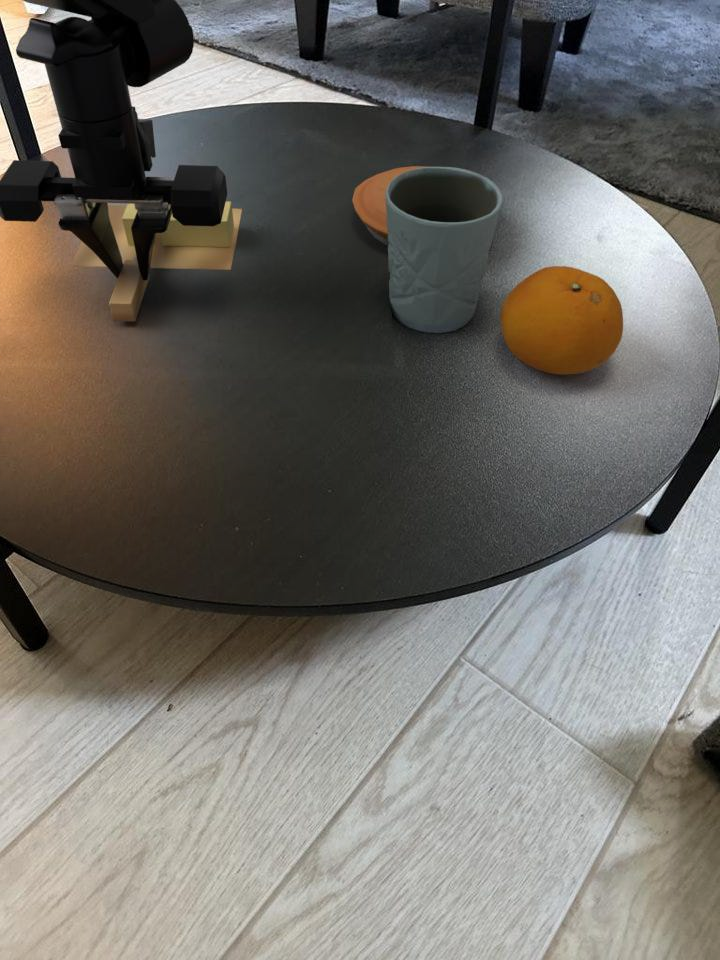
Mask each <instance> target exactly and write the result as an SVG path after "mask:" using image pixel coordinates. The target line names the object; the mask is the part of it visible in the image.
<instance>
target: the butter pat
mask: <svg viewBox="0 0 720 960" xmlns="http://www.w3.org/2000/svg"><path fill="white" fill-rule="evenodd" d="M126 204H127V203H126ZM126 206H127V207H126V210H125V212H124V215H123V217H122V221H123V226H124V230H125V234H126V239H127V243H128V245H134V241H133V236H132V231H131V227H132V224H133V221H134V219H135V216H136V213H137V210H136V209H135V205H134V204H127V205H126Z"/></svg>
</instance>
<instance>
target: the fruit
mask: <svg viewBox="0 0 720 960" xmlns="http://www.w3.org/2000/svg"><path fill="white" fill-rule="evenodd" d="M623 313H624V312H623V307H622V303H621V301H620V300H619V298H618V295H617V293H616V292H615V291H614V289H613V287H611V286H610V284H608V282H606V281H605V280H604V278H602V277H600V276H597V275H596V274H594V273H590V272H588V271H584V270H582V269H579V268H576V267H573V266H566V265H559V266H558V265H554V266H547V267H543V268H541V269H539V270H536V271H535V272H533V273H532V274H530V275H529V276H526V278H524V279H523V280H522V281H521V282H519V283H517V285H516V286H515V287H514V288H513V289H512V290H511V291H510V292H509V294H508V295H507V296H506V298H505V300H504V302H503V304H502V307H501V312H500V327H501V332H502V336H503V340H504V342H505V344H506V346H507V347H508V349H509V351H510V352H511V353H512V354H513V355H514V356H515V357H516V359H518V360H519V361H521V362H523V363H524V364H526V365H527V366H529V367H532V368H533V369H536V370H538V371H541V372H543V373H544V372H545V373H549V374H552V375H560V376H561V375H563V376H564V375H577V374H578V375H579V374H582V373H586V372H588V371H592V370H593V369H596V368H598V367H599V366H602V364H604V362H607V360H609V359H610V358H611V357H612V356H613V355H614V353H615V352H616V350H617V348H618V347H619V344H620V342H621V340H622V338H623V332H624V315H623Z"/></svg>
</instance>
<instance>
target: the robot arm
mask: <svg viewBox="0 0 720 960" xmlns="http://www.w3.org/2000/svg"><path fill="white" fill-rule="evenodd" d="M22 1H23V2H25V3H28V4H32V5H36V6H40V7H45V8H49V9H54V10H59V11H63V12H67V13H71V14H75V15H79V16H83V17H89V18H90V19H89V20H87V19H85V18H83V17H79V16H69V17H65V18H63V19H61V20H59V21H56V22H52V21H49V20H44V19H40V18H35V17H31V18H30V19H29V21H28V26H27V29H26V31H25V33H24V34H23V35H22V36H21V37H20V39H19V41H18V43H17V46H16V48H15V52H16V56H18V58H20V59H23V60H28V61H31V62H35V63H40V64H43V65H44V67H45V71H46V74H47V78H48V82H49V85H50V89H51V94H52V97H53V101H54V104H55V107H56V108H55V109H56V111H57V115H58V119H59V123H60V126H61V130H60V131H59V133H58V135H57V136H58V140H59V143H60V147H61V149H67V153H68V157H69V161H70V164H71V167H72V171H73V175H74V177H66V176H65V177H62V175H61V170H60V168H59V165H57V164H56V163H55V162H54V161H53V160H26V159H25V160H23V159H22V160H21V159H20V160H18V159H13V160H12V162H11V163H10V165H9V166H8V167H7V169H6V171H5V172H4V173H3V174H2V177H1V178H0V218H1V219H2V220H3V221H5V222H27V223H28V222H33V223H36V222H37V221H38V220H39V218H40V217H41V216H42V214H43V213H44V212H45V208H44V205H43V202H53V203H54V206H57V210H58V213H59V217H60V218H59V221H58V227H59V229H60V230H62V231H64V232H65V231H67V232H71V233H72V234H73V235H74V236H75V237H76V238H78V239H79V240H80V241H81V242H83V243H84V244H85V245H87V246H88V247H89V248H90V249H91V250H92V251H93V252H94V253H95V254H96V255H97V256H98V257H99V258H100V260H101V261H102V262H103V263H104V264H105V265H106V266H107V267H106V268H107V269H108V270H109V272H111V273H112V274H113V275H114V277H115V278H116V279H117V280H118V277H119V274H120V272H121V269H122V267H123V261H122V257H121V254H120V251H119V247H118V244H117V241H116V238H115V235H114V232H113V228H112V225H111V222H110V219H109V212H108V205H109V204H134V205H135V209H136V210H137V213H136V216H135V219H134V221H133V224H132V227H131V231H132V236H133V241H134V246H135V252H136V257H137V262H138V267H139V271H140V274H141V276H142V278H143V280H148V276H149V277H150V270H151V268H150V265H151V259H152V252H153V246H154V239H155V234H156V233H163V232H165V231H166V230H167V228H168V225H169V222H170V219H171V215H173V218H175V219H176V220H177V221H178V222H180V223H181V224H182V225H183V226H216V225H218V224H220V223H221V220H222V216H223V211H224V207H225V202H226V201H227V199H228V187H227V178H226V175H225V173H224V172H223V171H222V169H221V168H220V167H219V166H218V165H200V164H199V165H198V164H197V165H195V164H194V165H193V164H178V166H177V170H176V173H175V176H174V179H173V180H172V179H171V177H168V176H146V172H151V170H152V168H153V160H152V159H153V158H154V159H155V158H156V157H157V156H156V155H157V154H156V143H155V133H154V125H153V119H148V118H139V115H138V112H137V110H136V106H133V104H132V100H131V94H130V90H129V89H130V88H129V87H131V88H142V87H144V86H147V85H148V84H150V83H152V82H153V81H156V80H158V78H161V77H162V76H165V75H166V74H168V73H170V72H171V71H173V70H175V69H176V68H179V67H180V66H182V65H184V64H185V63H187V61H189V60H190V58H191V56H192V54H193V50H194V46H195V41H194V40H195V36H194V30H193V27H192V25H190V22H189V20H188V17H187V15H186V13H185V11H184V9H183V8H182V7H181V6H180V4H179V3H178V2H177V1H176V0H22ZM148 281H149V280H148Z"/></svg>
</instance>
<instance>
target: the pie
mask: <svg viewBox="0 0 720 960" xmlns="http://www.w3.org/2000/svg"><path fill="white" fill-rule="evenodd" d="M422 167H426V166H423V165H413V166H412V165H411V166H403V167H397V168H396V167H395V168H392V169H389V170H386V171H383V172H380V173H377V174H375V175H373V176H371V177H369V178H367V179H365V180H363V182H361V183H360V184H359V185H358V186H356V187H355V188H354V192H353V195H352V199H351V202H352V204H353V208H354V211H355V212H356V214H357V216H358V217H359V218H360V220H361V221H362V222H363V224H364V225H365V227H366V228H367V230H368V231H369V232H370V234H371V235H372V237H374V239H376V240H378V241H379V242H380V243H382V244H383V245H385V246H388V245H389V242H388V233H387V216H386V198H385V193H386V189H387V187H388V185H389V183H390V182H391V181H392V180H393V179H394V178H395V177H396V176H398V175H400V174H402V173H404V172H406V171H410V170H413V169H417V168H422Z"/></svg>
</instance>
